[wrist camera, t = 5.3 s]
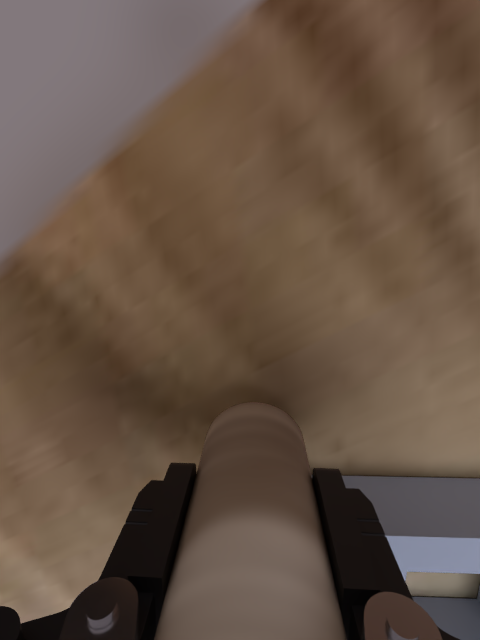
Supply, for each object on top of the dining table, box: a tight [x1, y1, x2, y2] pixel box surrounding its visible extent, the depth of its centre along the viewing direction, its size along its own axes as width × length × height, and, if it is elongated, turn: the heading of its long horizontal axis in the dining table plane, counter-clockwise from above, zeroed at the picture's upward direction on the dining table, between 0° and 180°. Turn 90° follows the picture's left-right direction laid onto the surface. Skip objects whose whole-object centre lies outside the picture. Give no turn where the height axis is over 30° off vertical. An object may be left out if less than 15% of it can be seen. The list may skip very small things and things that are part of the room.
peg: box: [154, 402, 347, 640], centre depth 8 cm, size 4×4×10 cm
